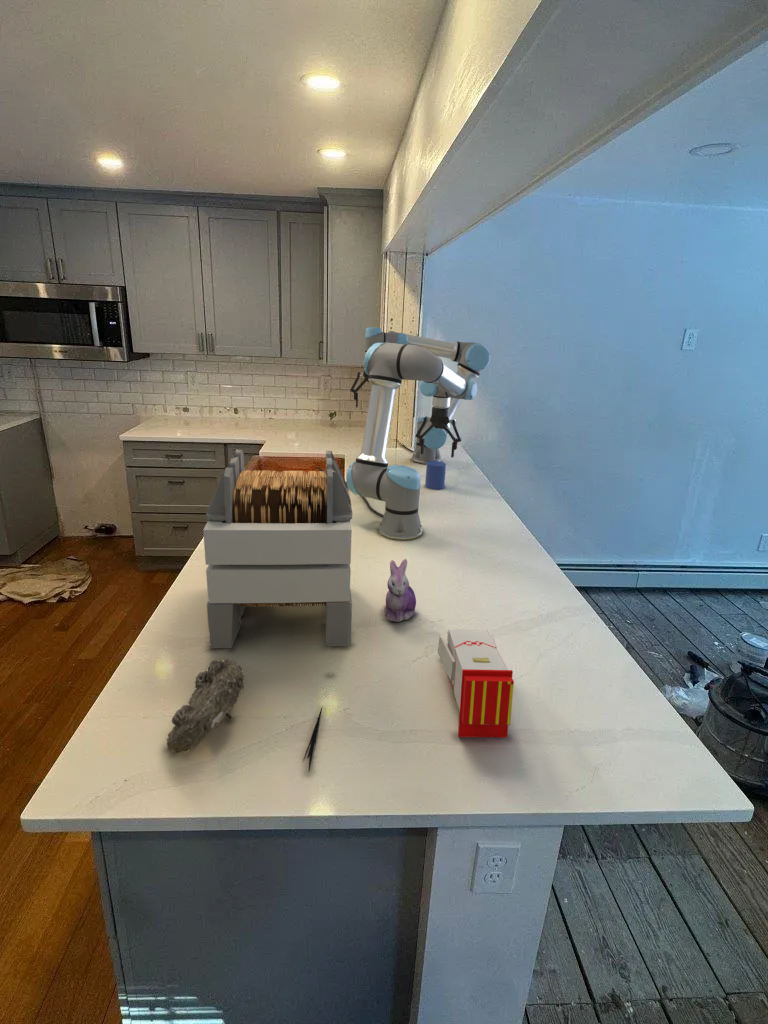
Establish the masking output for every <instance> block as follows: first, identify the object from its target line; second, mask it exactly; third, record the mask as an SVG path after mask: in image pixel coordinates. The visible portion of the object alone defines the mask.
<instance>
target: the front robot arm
mask: <svg viewBox="0 0 768 1024" xmlns="http://www.w3.org/2000/svg"><path fill="white" fill-rule="evenodd" d="M364 367H365V369H364ZM364 370H365V372H366V374H367V375H369V378H368V380H369V382H368V383H370V385H371V387H370V394H369V401H368V407H367V413H366V420H365V426H364V432H363V437H362V446H361V451H360V454H359V455H357V456H356V457H355V461H353V462H351V463H350V465H348V466H349V467H348V468H347V471H346V476H345V477H346V480H345V481H346V484H347V486H348V488H349V492H351V493H352V494H353V495H356V496H359V497H361V499H362V500H363V501H364V503H365V504H366V507H367V508H368V509H369V511H371V512H372V513H374V514H375V515H377V516H379V517H381V518H382V519H381V522H379V526H378V533H379V534H380V535H381V536H382V537H385V538H387V539H389V540H395V541H410V540H415V539H418V538H420V537H421V536H422V535H423V531H424V527H423V525H422V524H421V518H420V515H419V507H420V506H419V505H420V496H421V495H420V494H421V486H422V485H421V474H420V472H418V470H416V469H415V468H413V467H411V466H408V465H403V464H401V465H399V464H391V465H389V461H388V460H387V458H386V453H387V447H388V441H389V434H390V428H391V423H392V416H393V410H394V405H395V404H394V403H395V398H396V392H397V389H399V388H400V387H401V386H402V381H419V382H420V383H419V390H420V393H421V394H422V395H423V396H424V397H431V398H432V400H431V401H432V402H431V405H432V407H431V415H430V416H431V418H429V417H430V416H427V415H426V416H423V417H424V420H423V423H422V425H421V427H420V428H419V430H418V432H417V431H416V433H415V436H414V437H415V438H417V437H418V438H419V446H421V454H423V453H424V441H425V438H423V437H424V436H425V435H426V434H427V433H428V432H429V431H430V430H431V429H432V428H433V427H434V428H440V429H443V428H444V429H445V430H446V431H447V435H449V437H450V438H451V440H452V442H451V453H450V454H451V455H450V457H451V458H454V457H455V451H456V450H457V449H458V443H460V442H462V441H463V438H462V436H461V433H460V431H459V427H458V426H457V419H456V418H454V419H453V418H452V420H449V408H448V407H449V406H450V398H457V399H463V400H465V401H466V400H467V401H473V400H474V399H475V398H476V396H477V393H478V384H477V382H476V381H474V380H473V381H470V380H464V379H463V378H461V377H460V376H459V375H457V374H456V373H457V372H455V371H453V370H452V369H450V368H449V367H447V366H446V365H445V364H444V362H443V360H442V359H441V357H439V356H436V355H435V354H433V353H431V352H430V351H428V350H426V349H424V348H421V347H419V346H416V345H406V344H397V343H387V342H385V343H375V344H373V345H372V346H371V347H370V348H369V349H368V351H367V353H366V355H365V354H364V360H363V371H364ZM429 420H430V421H431V423H432V425H431V426H430V427H429V428H428V429H427V430H426V431H425V432H424V433H423V434H422V435H420V433H421V432H422V430H423V428H424V426H425V425H426V423H427V422H428V421H429ZM449 422H450V425H451V426H452V428H453V431H454V432H453V431H452V429H451V428H449V426H448V425H447V424H448V423H449ZM454 433H455V434H454ZM316 470H318V471H319V472H320V471H321V472H322V471H323V472H324V471H325V472H326V470H325V469H323V468H321V467H316ZM367 498H368V499H373V500H375V501H381V502H385V504H384V505H385V507H384V508H385V509H384V513H381V512H379V511H377V510H375V509H374V508H373V507H372V506H371V505H370V502H369V501H368V500H367Z"/></svg>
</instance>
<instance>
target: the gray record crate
mask: <svg viewBox="0 0 768 1024" xmlns="http://www.w3.org/2000/svg"><path fill="white" fill-rule="evenodd" d="M307 471H308V470H307ZM307 471H305V470H282V471H276V470H264V469H263V470H262V469H261V470H256V469H255V470H254V469H253V470H249V469H245V454H244V449H238V448H237V449H235V451H234V454H233V456H231V458H230V460H229V462H228V465H227V467H225V468H224V471H223V473H222V475H221V477H220V480H219V481H218V484H217V487H216V489H215V491H214V493H213V496H212V498H211V500H210V502H209V504H208V506H207V509H206V512H205V516H206V520H207V521H206V524H205V526H204V527H203V530H202V531H203V545H204V559H205V561H204V562H205V565H206V566H207V567H206V570H205V574H206V575H205V576H206V588H207V589H206V590H207V603H206V611H207V612H206V614H207V626H208V634H209V645H208V647H209V648H210V649H212V650H216V649H232V648H233V645H234V643H235V640H236V638H237V635H238V633H239V631H240V628H241V625H242V623H241V617H244V614H245V613H244V612H245V610H246V607H248V608H249V607H252V608H253V607H254V608H255V607H258V608H259V607H260V608H261V607H300V606H301V607H307V606H309V607H310V606H312V607H315V606H316V607H317V606H319V607H320V606H324V607H325V608H324V609H325V647H345V648H347V647H349V646H350V645H352V620H353V617H352V616H353V614H352V613H353V600H352V592H351V571H352V570H351V564H352V563H351V562H352V561H351V560H352V533H353V530H352V529H353V528H352V523H351V520H352V519H353V508H352V507H353V506H352V501H351V495H350V490H349V488H348V485H347V484H346V482H347V480H345V478H344V475H343V473H342V470H341V469H340V467H339V463H338V462H337V460H336V457H335V456H334V453H333V451H332V450H325V470H324V472H323V471H320V470H319V471H317V470H309V471H308V472H307ZM325 471H326V472H325Z"/></svg>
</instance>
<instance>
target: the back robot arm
mask: <svg viewBox="0 0 768 1024" xmlns="http://www.w3.org/2000/svg"><path fill="white" fill-rule="evenodd" d="M385 342H387V343H397V344H406V345H416V346H419V347H421V348H424V349H426V350H428V351H430V352H431V353H433V354H435V355H436V356H437V357H439V358H445V359H450V360H451V362H455V363H457V365H456V366H457V372H455V373H456V374H457V375H459V376H460V377H461V378H463V379H464V380H470V381H474V379H476V378H479V377H480V375H481V373H482V372H483V370H485V369H486V367H488V365H490V361H491V353H490V351H489V349H488V347H487V346H485V345H484V344H481V343H480V342H479V343H477V342H474V341H473V342H465V341H458V340H455V341H454V342H451V341H445V340H441V339H434V338H430V337H424V336H418V335H414V334H409V333H406V332H405V333H404V332H397V331H394V330H389V331H388V332H383V329H382V327H375V326H373V327H372V326H368V327H366V328H365V335H364V356H365V355H366V353H367V351H368V349H369V348H370V347H371V346H372V345H373V344H375V343H385ZM364 369H365V367H364V366H363V372H361V371H357V374H356V378H355V380H354V381H353V384H352V385H351V387H350V389H349V391H350V392H352V393H353V400H354V401H355V408H358V406H359V392H358V391H359V390H361V388H362V387H363V386H364V385H365V384H366V383H370V382H369V380H368V378H369V375H367V374H366V372H365V370H364ZM362 376H363V377H364V379H363V380H362V381H361V383H360V384H359V385H358V386H357V387H356V385H357V383H358V382H359V379H360V378H361V377H362ZM355 387H356V388H355ZM463 400H464V399H457V398H450V406H449V407H448V408H449V420H453V418H454V416H455V414H456V412H457V410H458V409H459V407H460V405H461V403H462V401H463ZM424 417H425V416H420V417H418V418H417V422H416V424H417V427H416V433H417V432H418V430H419V428H420V427H421V425H422V423H423V420H424ZM428 417H429V418H431V415H430V416H428ZM431 425H432V423H431V421H430V420H429V421H428V422H427V423H426V425H425V426H424V428H423V430H422V432H421V433H420V435H422V434H423V433H424V432H425V431H426V430H427V429H428V428H429V427H430V426H431ZM447 425H448V426H449V428H450V429H451V423H450V422H449V423H448V424H447ZM447 435H448V433H447V431H446V430H445V429H444V428H443V429H440V428H434V427H433V428H432V429H431V430H430V431H429V432H428V433H427V434H426V435H425V436H424V437H423V438H425V441H424V453H423V454H421V446H419V438H418V437H416V441H415V442H416V443H415V448H414V449H413V450H412V449H410V448H409V447H407V446H406V445H404V444H403V445H402V444H401V446H402V447H403V448H404V449H406V450H407V451H409V452H411V453H412V455H411V462H413V463H416V464H422V465H427V462H429V461H440V462H442V457H441V453H440V452H441V451H440V449H441V448H442V447H443V446H444V445H445V444H446V442H447V438H448V436H447Z"/></svg>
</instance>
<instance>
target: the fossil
mask: <svg viewBox="0 0 768 1024" xmlns="http://www.w3.org/2000/svg"><path fill="white" fill-rule="evenodd" d="M243 670H244V669H243V667H242V665H240V664H237V662H236V661H235V660H234V659H232V658H231V659H227V658H226V659H224V660H223V661H222V660H217V659H212V660H211V661H210V663H209V665H208V666H207V671H201V672H199V673H198V674H197V675H196V676H195V680H194V684H195V685H194V687H195V689H194V690H193V693H192V694H191V697H190V698H189V700H188V704H184V705H182V706H181V707H180V709H177V710H176V711H175V713H174V715H173V716H172V718H171V723H172V724H173V727H172V730H171V731H170V732H168V734H167V738H166V741H167V742H166V745H167V749H168V750H169V751H173V752H174V753H176V754H178V753H182V752H188V751H189V752H192V751H193V750H195V748H196V747H197V746H199V744H200V743H201V742H203V741H204V740H205V739H206V738H207V737H208V736H209V735H210V734H211V733H212V732H214V730H215V729H217V727H218V726H219V724H220V722H221V721H222V720H223V719H224V718H225V716H226V717H227V719H229V720H233V717H232V715H230V714H229V710H230V709H231V708H234V706H235V704H236V703H237V702H238V699H239V697H240V695H241V693H242V691H243V690H245V689H244V688H245V675H244V671H243Z"/></svg>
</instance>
